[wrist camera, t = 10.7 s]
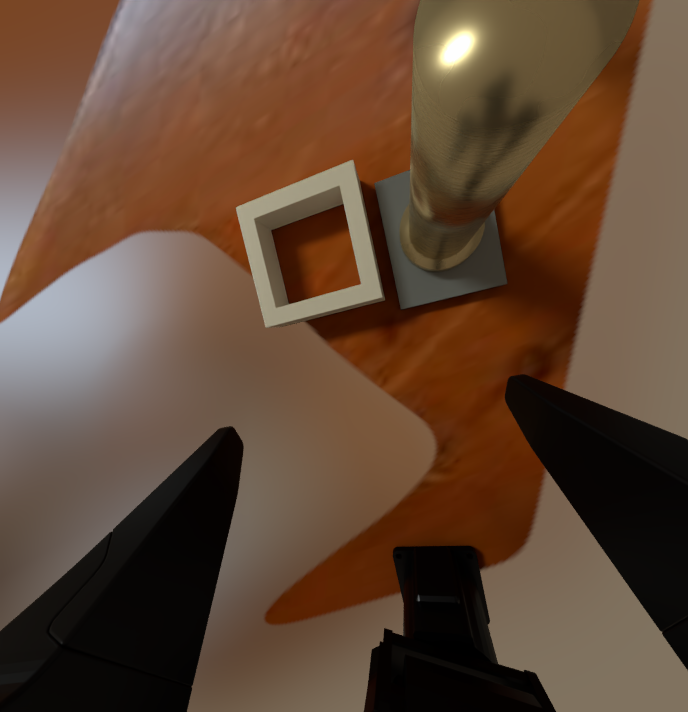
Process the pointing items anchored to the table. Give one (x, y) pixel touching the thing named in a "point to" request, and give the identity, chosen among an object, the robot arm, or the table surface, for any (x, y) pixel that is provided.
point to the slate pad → (434, 286)
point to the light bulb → (492, 106)
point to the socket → (294, 206)
